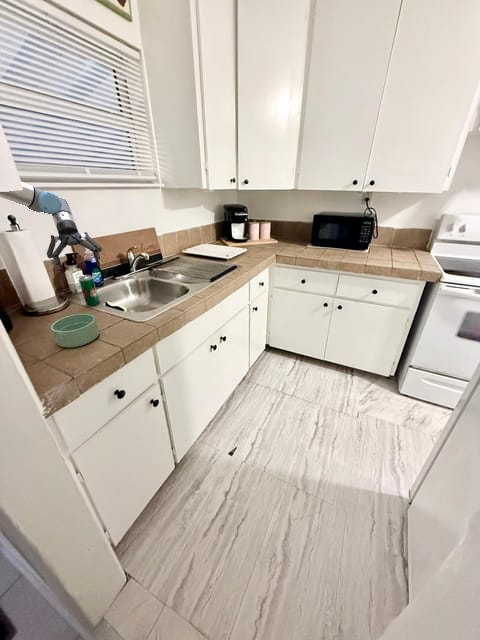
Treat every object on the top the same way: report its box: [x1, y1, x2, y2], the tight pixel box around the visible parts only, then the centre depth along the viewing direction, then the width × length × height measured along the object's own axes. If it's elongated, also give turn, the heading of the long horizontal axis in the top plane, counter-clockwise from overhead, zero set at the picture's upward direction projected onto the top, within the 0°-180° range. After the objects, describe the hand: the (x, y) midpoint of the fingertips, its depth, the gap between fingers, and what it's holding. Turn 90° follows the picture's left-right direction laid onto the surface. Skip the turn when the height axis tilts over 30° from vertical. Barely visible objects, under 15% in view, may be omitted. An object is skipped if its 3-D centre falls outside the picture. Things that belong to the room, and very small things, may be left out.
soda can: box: [78, 274, 100, 307], centre depth 106 cm, size 5×5×12 cm
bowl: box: [50, 313, 100, 348], centre depth 84 cm, size 12×12×6 cm
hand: (81, 268), depth 109 cm, fingers open, 13 cm apart
